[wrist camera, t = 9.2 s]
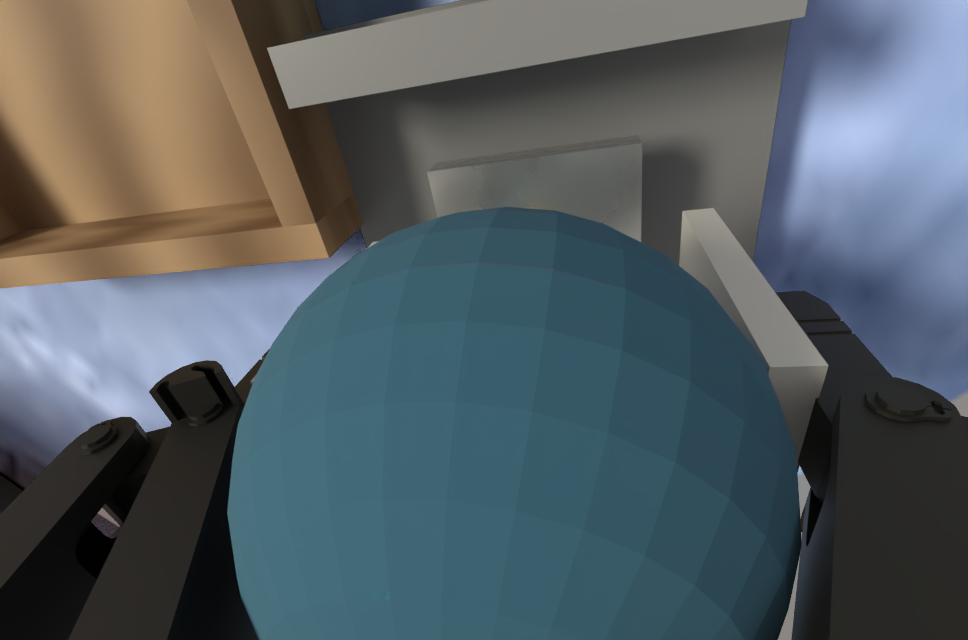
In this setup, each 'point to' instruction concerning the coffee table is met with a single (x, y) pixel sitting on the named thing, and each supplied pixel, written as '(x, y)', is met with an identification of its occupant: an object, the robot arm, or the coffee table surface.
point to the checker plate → (550, 182)
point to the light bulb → (513, 448)
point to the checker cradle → (554, 98)
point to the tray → (160, 141)
